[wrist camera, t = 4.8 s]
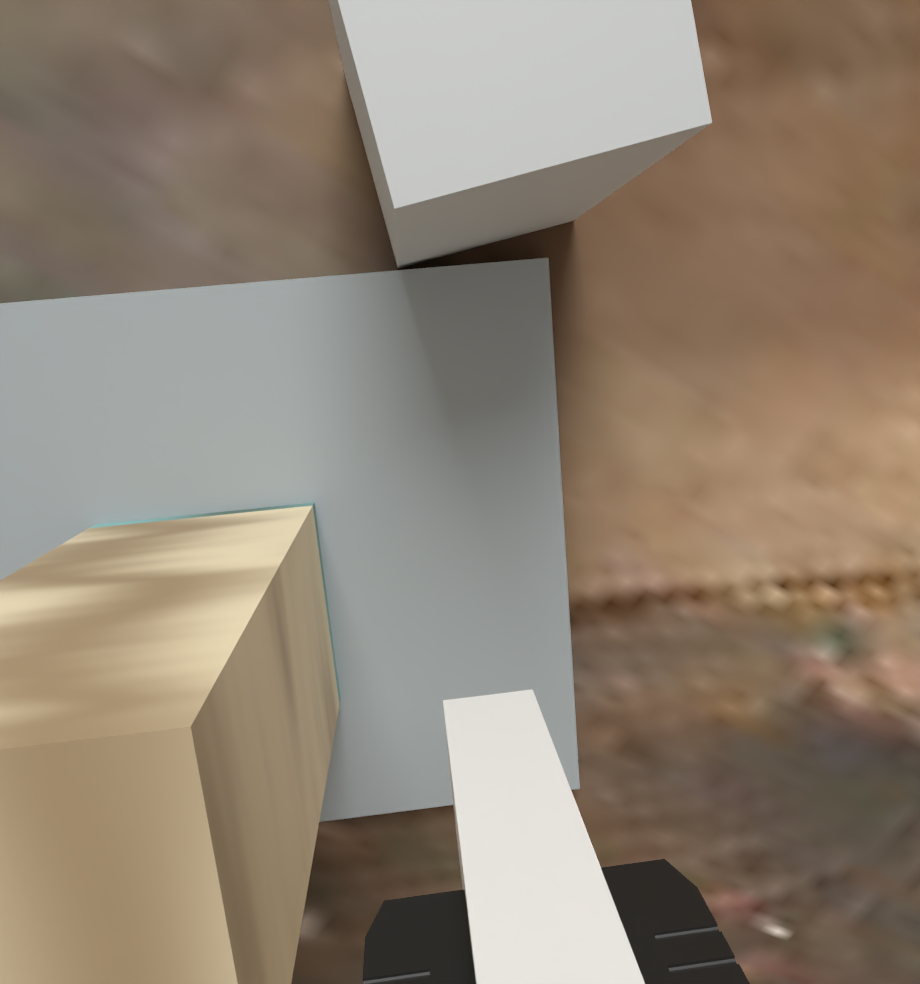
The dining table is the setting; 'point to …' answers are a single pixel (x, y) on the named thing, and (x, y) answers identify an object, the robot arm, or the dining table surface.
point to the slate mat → (328, 476)
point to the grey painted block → (513, 109)
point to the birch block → (164, 750)
